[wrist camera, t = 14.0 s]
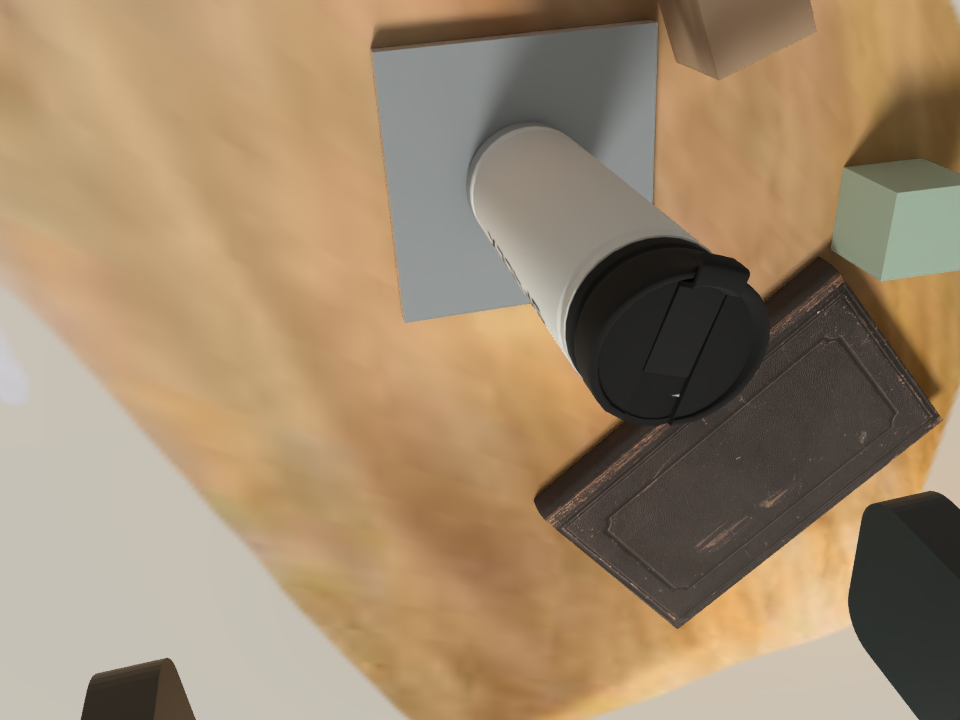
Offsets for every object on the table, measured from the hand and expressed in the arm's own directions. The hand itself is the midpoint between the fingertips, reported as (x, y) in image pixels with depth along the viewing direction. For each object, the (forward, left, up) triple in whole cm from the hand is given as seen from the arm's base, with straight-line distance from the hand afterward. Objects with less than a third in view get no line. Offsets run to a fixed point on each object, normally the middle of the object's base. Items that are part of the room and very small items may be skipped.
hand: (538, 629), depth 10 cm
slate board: (+6, +9, -37) cm, 38 cm away
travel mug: (+6, +9, -36) cm, 37 cm away
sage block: (+11, +30, -37) cm, 49 cm away
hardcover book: (+27, +23, -37) cm, 51 cm away
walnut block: (-2, +19, -37) cm, 41 cm away
